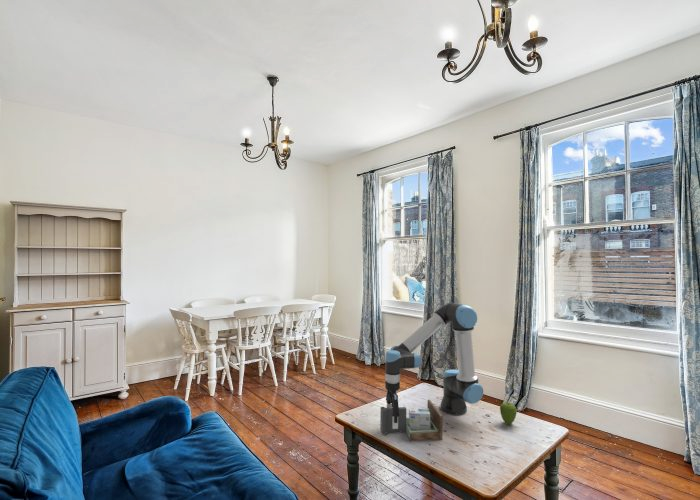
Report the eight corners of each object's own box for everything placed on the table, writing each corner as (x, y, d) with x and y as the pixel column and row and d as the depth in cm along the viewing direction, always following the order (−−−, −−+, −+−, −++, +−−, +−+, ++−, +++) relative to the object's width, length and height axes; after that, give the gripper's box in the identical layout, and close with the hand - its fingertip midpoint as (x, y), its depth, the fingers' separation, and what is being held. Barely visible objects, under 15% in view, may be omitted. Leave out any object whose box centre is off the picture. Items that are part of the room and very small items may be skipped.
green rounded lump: (517, 428, 192) (517, 406, 192) (500, 425, 195) (500, 404, 196) (516, 421, 200) (516, 400, 200) (499, 418, 204) (499, 398, 204)
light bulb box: (429, 428, 192) (429, 408, 192) (430, 434, 185) (430, 413, 186) (408, 427, 193) (408, 407, 193) (409, 433, 186) (409, 412, 187)
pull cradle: (428, 422, 198) (428, 400, 198) (438, 437, 182) (438, 413, 182) (378, 425, 195) (378, 402, 195) (384, 440, 179) (384, 415, 179)
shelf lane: (429, 421, 200) (429, 399, 200) (442, 439, 181) (442, 415, 181) (401, 422, 198) (401, 400, 198) (411, 441, 179) (411, 417, 179)
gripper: (380, 373, 200) (380, 411, 200) (390, 390, 175) (390, 434, 175) (394, 373, 201) (393, 411, 201) (405, 390, 176) (405, 433, 176)
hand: (392, 422), depth 188 cm, fingers open, 13 cm apart
